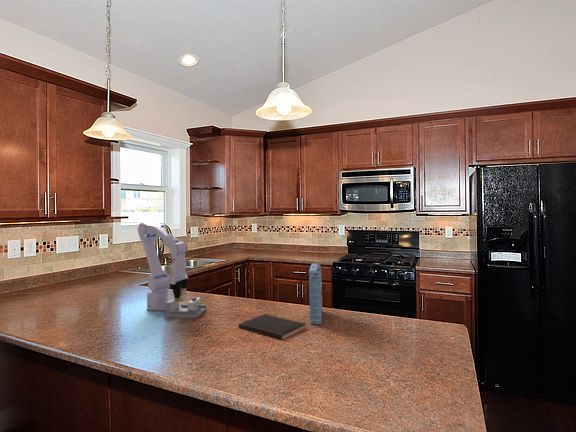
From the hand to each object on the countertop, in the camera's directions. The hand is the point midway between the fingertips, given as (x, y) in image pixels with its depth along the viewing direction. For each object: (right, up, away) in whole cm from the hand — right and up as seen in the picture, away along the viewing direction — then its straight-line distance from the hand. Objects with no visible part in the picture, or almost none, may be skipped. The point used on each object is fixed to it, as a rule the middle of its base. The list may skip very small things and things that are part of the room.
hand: (179, 296), depth 165 cm
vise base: (+3, -8, 0) cm, 9 cm away
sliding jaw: (+7, -6, -1) cm, 9 cm away
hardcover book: (+45, -9, -21) cm, 50 cm away
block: (0, -2, 0) cm, 2 cm away
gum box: (+64, -8, -8) cm, 65 cm away
